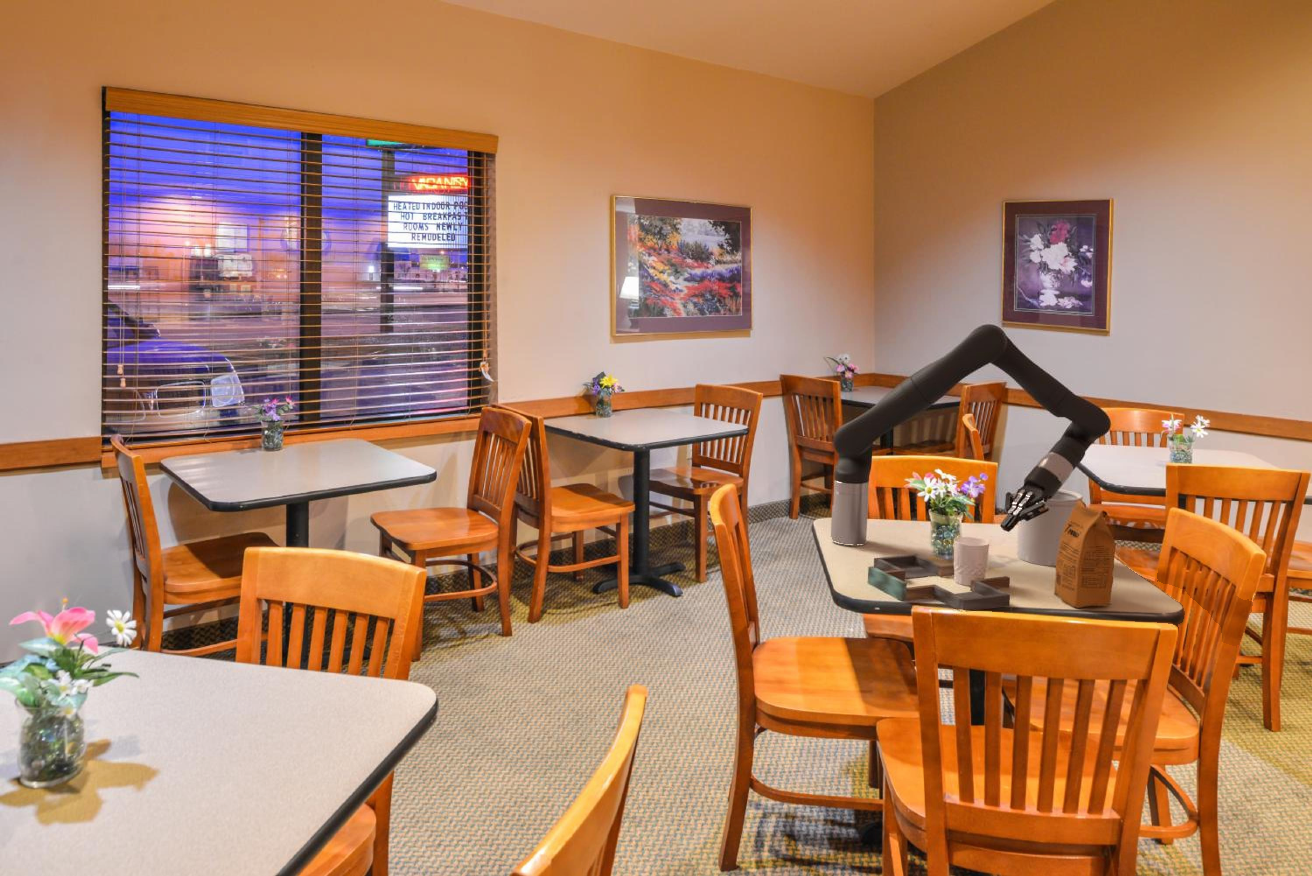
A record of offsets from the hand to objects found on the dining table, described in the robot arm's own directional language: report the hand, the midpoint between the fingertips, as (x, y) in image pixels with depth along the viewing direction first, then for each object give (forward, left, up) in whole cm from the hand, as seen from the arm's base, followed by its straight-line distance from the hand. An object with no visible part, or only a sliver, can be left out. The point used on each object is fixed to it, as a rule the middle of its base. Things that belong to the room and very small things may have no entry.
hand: (1004, 529), depth 218 cm
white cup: (0, -9, -12) cm, 16 cm away
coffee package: (+19, +6, -12) cm, 23 cm away
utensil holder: (-10, +23, -12) cm, 28 cm away
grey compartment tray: (0, -18, -12) cm, 22 cm away
